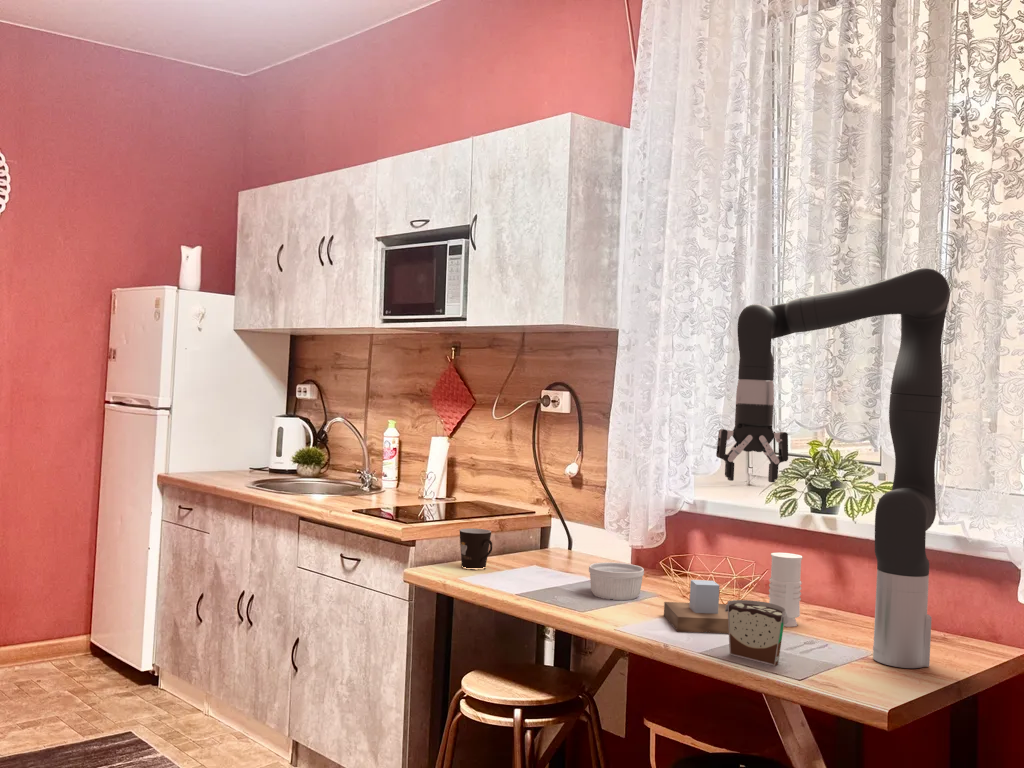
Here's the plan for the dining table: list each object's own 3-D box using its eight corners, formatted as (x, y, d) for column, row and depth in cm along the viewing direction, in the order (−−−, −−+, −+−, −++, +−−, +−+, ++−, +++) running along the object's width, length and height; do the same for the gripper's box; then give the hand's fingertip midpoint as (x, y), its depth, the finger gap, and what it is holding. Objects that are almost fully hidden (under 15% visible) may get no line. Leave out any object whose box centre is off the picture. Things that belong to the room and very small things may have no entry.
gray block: (711, 608, 206) (713, 580, 206) (718, 613, 201) (719, 585, 201) (689, 607, 206) (690, 579, 206) (694, 612, 201) (696, 584, 201)
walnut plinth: (725, 617, 211) (726, 604, 211) (744, 634, 197) (744, 619, 197) (663, 615, 210) (664, 601, 210) (677, 631, 196) (678, 617, 196)
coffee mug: (455, 564, 258) (457, 528, 259) (486, 565, 260) (488, 528, 260) (461, 573, 247) (463, 534, 247) (493, 573, 249) (495, 535, 249)
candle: (771, 626, 205) (775, 557, 205) (763, 618, 212) (767, 551, 212) (803, 628, 205) (807, 558, 205) (794, 620, 212) (797, 553, 212)
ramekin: (590, 600, 222) (592, 571, 222) (584, 588, 235) (586, 560, 235) (647, 603, 223) (648, 573, 223) (637, 591, 236) (639, 563, 236)
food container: (797, 661, 178) (800, 608, 178) (782, 667, 173) (785, 613, 173) (738, 647, 186) (740, 596, 186) (722, 652, 182) (725, 600, 182)
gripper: (782, 403, 198) (779, 481, 198) (715, 400, 198) (711, 478, 198) (795, 404, 191) (791, 484, 191) (725, 400, 190) (721, 481, 190)
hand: (750, 481), depth 194 cm, fingers open, 8 cm apart
